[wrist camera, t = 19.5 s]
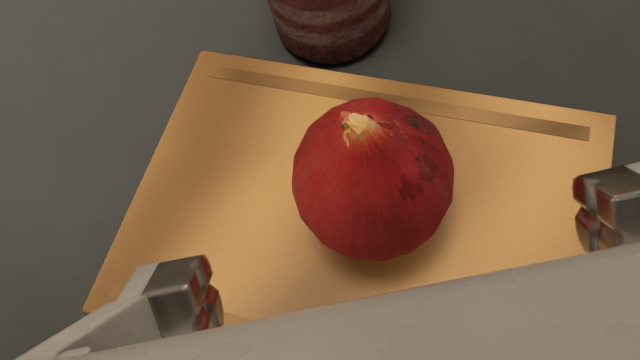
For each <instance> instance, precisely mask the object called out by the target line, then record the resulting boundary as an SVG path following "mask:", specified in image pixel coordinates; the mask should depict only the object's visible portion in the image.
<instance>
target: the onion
mask: <svg viewBox="0 0 640 360" xmlns="http://www.w3.org/2000/svg"><path fill="white" fill-rule="evenodd" d="M453 184H454V165H453V160H452V157H451V155H450V153H449V151H448V149H447V147H446V145H445V143H444V140H443V138H442V136H441V134H440V132H439V130H438V129H437V127H436V126H435V125H434V123H432V122H431V121H429V120H428V119H426V118H425V117H423V116H422V115H420V114H419V113H417V112H416V111H414V110H413V109H411V108H410V107H406V106H403V105H400V104H397V103H394V102H391V101H388V100H385V99H382V98H378V97H372V98H359V99H353V100H350V101H348V102H345V103H343V104H340V105H338V106H335V107H333V108H331V109H330V110H328V111H327V112H326V113H325V114H323V115H322V116H321V117H319V118H318V119H317V120H316V121H314V122H313V123H312V124H311V125H310V126H309V127H308V129H307V131H306V133H305V135H304V137H303V139H302V141H301V143H300V145H299V147H298V149H297V151H296V153H295V155H294V161H293V173H292V193H293V196H294V199H295V202H296V205H297V208H298V211H299V214H300V218H301V219H302V221H303V222H304V223H305V224H306V225H307V226H308V228H309V229H310V230H311V231H312V232H313V234H314V235H315V236H316V237H317V238H318V239H319V241H320V242H321V243H322V244H324V245H325V246H327V247H329V248H331V249H333V250H335V251H337V252H339V253H341V254H343V255H344V256H346V257H348V258H350V259H352V260H367V261H386V260H390V259H393V258H396V257H399V256H402V255H405V254H409V253H411V252H413V251H414V250H415V249H416V248H418V247H419V246H420V245H422V244H423V243H424V242H425V241H427V240H428V239H429V238H431V237H432V236H433V235H434V233H435V232H436V230H437V229H438V227H439V225H440V223H441V221H442V219H443V218H444V216H445V214H446V212H447V210H448V208H449V206H450V205H451V203H452V200H453Z"/></svg>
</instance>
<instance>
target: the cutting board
mask: <svg viewBox="0 0 640 360" xmlns="http://www.w3.org/2000/svg"><path fill="white" fill-rule="evenodd" d="M372 97H378V98H382V99H385V100H388V101H391V102H394V103H397V104H400V105H403V106H406V107H410V108H411V109H413V110H414V111H416V112H417V113H419V114H420V115H422V116H423V117H425V118H426V119H428V120H429V121H431V122H432V123H434V125H435V126H436V127H437V129H438V130H439V132H440V134H441V136H442V138H443V140H444V143H445V145H446V147H447V149H448V151H449V153H450V155H451V157H452V160H453V165H454V184H453V200H452V203H451V205H450V206H449V208H448V210H447V212H446V214H445V216H444V218H443V219H442V221H441V223H440V225H439V227H438V229H437V230H436V232H435V233H434V235H433V236H432V237H431V238H429V239H428V240H427V241H425V242H424V243H423V244H422V245H420V246H419V247H418V248H416V249H415V250H414V251H413V252H411V253H409V254H405V255H402V256H399V257H396V258H393V259H390V260H386V261H367V260H352V259H350V258H348V257H346V256H344V255H343V254H341V253H339V252H337V251H335V250H333V249H331V248H329V247H327V246H325V245H324V244H322V243H321V242H320V241H319V239H318V238H317V237H316V236H315V235H314V234H313V232H312V231H311V230H310V229H309V228H308V226H307V225H306V224H305V223H304V222H303V221H302V219H301V218H300V214H299V211H298V208H297V205H296V202H295V199H294V196H293V193H292V173H293V161H294V155H295V153H296V151H297V149H298V147H299V145H300V143H301V141H302V139H303V137H304V135H305V133H306V131H307V129H308V127H309V126H310V125H311V124H312V123H313V122H314V121H316V120H317V119H318V118H319V117H321V116H322V115H323V114H325V113H326V112H327V111H328V110H330V109H331V108H333V107H335V106H338V105H340V104H343V103H345V102H348V101H350V100H353V99H359V98H372ZM615 126H616V116H615V115H609V114H603V113H596V112H590V111H584V110H577V109H571V108H565V107H558V106H552V105H546V104H539V103H533V102H527V101H520V100H514V99H508V98H501V97H495V96H488V95H482V94H476V93H469V92H463V91H457V90H450V89H444V88H438V87H431V86H425V85H419V84H412V83H406V82H400V81H393V80H387V79H381V78H374V77H368V76H362V75H355V74H349V73H342V72H336V71H330V70H323V69H317V68H311V67H304V66H298V65H292V64H285V63H279V62H273V61H266V60H260V59H254V58H247V57H241V56H235V55H228V54H222V53H216V52H209V51H203V50H202V51H201V53H200V55H199V57H198V59H197V61H196V64H195V66H194V68H193V70H192V72H191V74H190V77H189V79H188V81H187V83H186V85H185V87H184V90H183V92H182V94H181V96H180V98H179V100H178V103H177V105H176V107H175V109H174V111H173V113H172V116H171V118H170V120H169V122H168V124H167V126H166V129H165V131H164V133H163V135H162V137H161V139H160V142H159V144H158V146H157V148H156V150H155V152H154V155H153V157H152V159H151V161H150V163H149V165H148V168H147V170H146V172H145V174H144V176H143V178H142V181H141V183H140V185H139V187H138V189H137V191H136V194H135V196H134V198H133V200H132V202H131V204H130V207H129V209H128V211H127V213H126V215H125V217H124V220H123V222H122V224H121V226H120V228H119V230H118V233H117V235H116V237H115V239H114V241H113V244H112V246H111V248H110V250H109V252H108V254H107V257H106V259H105V261H104V263H103V265H102V267H101V270H100V272H99V274H98V276H97V278H96V280H95V283H94V285H93V287H92V289H91V291H90V293H89V296H88V298H87V300H86V302H85V304H84V306H83V309H82V311H83V312H85V313H88V314H90V313H92V312H93V311H95V310H97V309H98V308H100V307H102V306H103V305H105V304H107V303H108V302H112V301H116V299H117V298H118V296H119V295H120V293H121V292H122V290H123V289H124V287H125V285H126V284H127V282H128V281H129V279H130V278H131V276H132V275H133V273H134V272H135V270H136V268H137V267H139V266H144V265H148V264H153V263H157V262H166V261H171V260H176V259H181V258H186V257H192V256H197V255H202V254H205V255H206V257H207V258H208V259H209V262H210V265H211V268H212V271H213V274H212V277H211V280H210V284H211V285H212V286H213V287H215V288H216V289H217V290H219V294H220V297H221V300H222V306H223V311H224V324H223V326H226V325H231V324H236V323H241V322H246V321H251V320H256V319H261V318H266V317H271V316H275V315H280V314H285V313H290V312H295V311H300V310H305V309H310V308H315V307H320V306H325V305H330V304H335V303H340V302H345V301H350V300H355V299H360V298H365V297H370V296H375V295H379V294H384V293H389V292H394V291H399V290H404V289H409V288H414V287H419V286H424V285H429V284H434V283H439V282H444V281H449V280H454V279H459V278H464V277H469V276H474V275H479V274H483V273H488V272H493V271H498V270H503V269H508V268H513V267H518V266H523V265H528V264H533V263H538V262H543V261H548V260H553V259H558V258H563V257H568V256H573V255H578V254H583V253H586V252H585V251H584V249H583V248H582V246H581V244H580V242H579V239H578V236H577V233H576V226H575V216H576V214H577V212H578V211H579V209H580V207H581V206H580V205H579V204H578V203H577V202H576V201H575V200H574V199H573V192H572V185H573V179H574V178H575V177H577V176H578V175H582V174H587V173H591V172H595V171H600V170H604V169H608V168H611V166H612V156H613V146H614V136H615Z"/></svg>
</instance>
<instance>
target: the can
mask: <svg viewBox="0 0 640 360" xmlns="http://www.w3.org/2000/svg"><path fill="white" fill-rule="evenodd" d="M268 3H269V6H270V9H271V12H272V16H273V19H274V22H275V25H276V28H277V32H278V34H279V36H280V38H281V40H282V42H283V44H284V45H285V46H286V47H287V48H288V49H289V50H291V51H292V52H293V53H294V54H295V55H298V56H300V57H302V58H305V59H307V60H309V61H311V62H314V63H321V64H329V65H330V64H337V63H344V62H348V61H350V60H353V59H355V58H357V57H360V56H362V55H363V54H364V53H365V52H367V51H368V50H369V49H371V48H372V47H373V46H374V45H375V44H376V43H377V42H378V41H379V40H380V38H381V37H382V35H383V34H384V32H385V31H386V30H387V26H388V22H389V19H390V0H268Z"/></svg>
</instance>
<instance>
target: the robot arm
mask: <svg viewBox="0 0 640 360" xmlns="http://www.w3.org/2000/svg"><path fill="white" fill-rule="evenodd" d="M572 192H573V199H574V200H575V201H576V202H577V203H578V204H579V205H580V206H581V207H580V209H579V211H578V212H577V214H576V216H575V226H576V233H577V236H578V239H579V242H580V244H581V246H582V248H583V249H584V251H585V252H586V253H583V254H578V255H573V256H568V257H563V258H558V259H553V260H548V261H543V262H538V263H533V264H528V265H523V266H518V267H513V268H508V269H503V270H498V271H493V272H488V273H483V274H479V275H474V276H469V277H464V278H459V279H454V280H449V281H444V282H439V283H434V284H429V285H424V286H419V287H414V288H409V289H404V290H399V291H394V292H389V293H384V294H379V295H375V296H370V297H365V298H360V299H355V300H350V301H345V302H340V303H335V304H330V305H325V306H320V307H315V308H310V309H305V310H300V311H295V312H290V313H285V314H280V315H275V316H271V317H266V318H261V319H256V320H251V321H246V322H241V323H236V324H231V325H226V326H223V324H224V311H223V306H222V300H221V297H220V294H219V290H217V289H216V288H215V287H213V286H212V285H211V284H210V280H211V277H212V274H213V271H212V268H211V265H210V262H209V259H208V258H207V257H206V255H205V254H202V255H197V256H192V257H186V258H181V259H176V260H171V261H166V262H157V263H153V264H148V265H144V266H139V267H137V268H136V270H135V272H134V273H133V275H132V276H131V278H130V279H129V281H128V282H127V284H126V285H125V287H124V289H123V290H122V292H121V293H120V295H119V296H118V298H117V299H116V301H112V302H108V303H107V304H105V305H103V306H102V307H100V308H98V309H97V310H95V311H93V312H92V313H90V314H88V315H87V316H85V317H84V318H82V319H80V320H79V321H77V322H75V323H74V324H72V325H70V326H69V327H67V328H65V329H64V330H62V331H60V332H59V333H57V334H55V335H54V336H52V337H51V338H49V339H47V340H46V341H44V342H42V343H41V344H39V345H37V346H36V347H34V348H32V349H31V350H29V351H27V352H26V353H24V354H22V355H21V356H19V357H18V358H16V359H14V360H640V162H637V163H633V164H629V165H625V166H624V165H621V166H617V167H613V168H608V169H604V170H600V171H595V172H591V173H587V174H582V175H578V176H577V177H575V178H574V179H573V185H572Z"/></svg>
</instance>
